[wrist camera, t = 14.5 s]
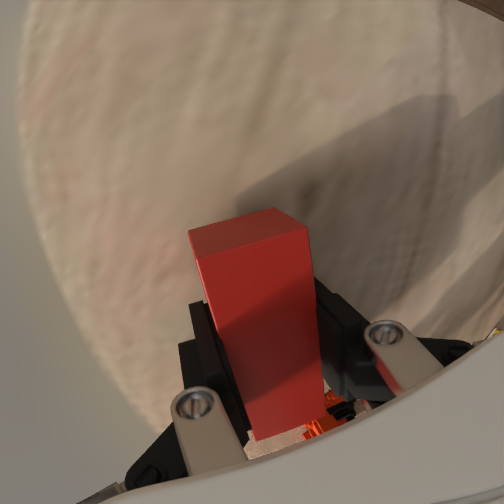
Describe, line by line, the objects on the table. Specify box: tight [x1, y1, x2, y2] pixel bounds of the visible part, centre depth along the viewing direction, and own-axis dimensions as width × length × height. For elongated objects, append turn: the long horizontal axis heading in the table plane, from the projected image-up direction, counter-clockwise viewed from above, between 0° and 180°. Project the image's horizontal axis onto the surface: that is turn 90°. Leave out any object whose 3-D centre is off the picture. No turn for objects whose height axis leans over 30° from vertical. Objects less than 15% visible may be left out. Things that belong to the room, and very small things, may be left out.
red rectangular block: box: [188, 208, 326, 441], centre depth 11 cm, size 8×3×3 cm, turn 12°
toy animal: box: [303, 391, 356, 440], centre depth 10 cm, size 8×6×12 cm
